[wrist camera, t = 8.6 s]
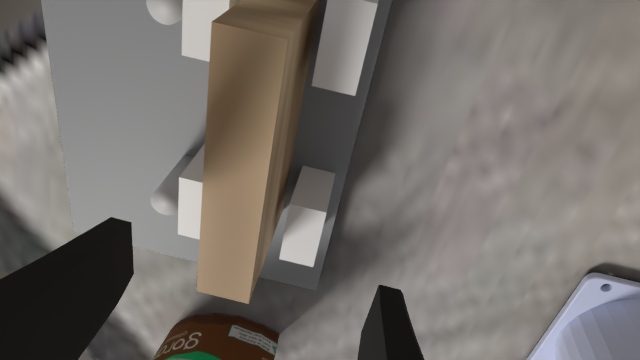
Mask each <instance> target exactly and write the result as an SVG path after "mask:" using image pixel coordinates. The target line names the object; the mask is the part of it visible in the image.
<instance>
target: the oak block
mask: <svg viewBox="0 0 640 360" xmlns="http://www.w3.org/2000/svg"><path fill="white" fill-rule="evenodd" d="M319 5H320V0H241V1H240V2H239V3H237V4H236V5H234V6H233V7H232V8H230V9H229V10H227V11H226V12H225V13H223V14H222V15H220V16H219V17H218V18H216V19H215V20H213V21H212V24H211V42H210V60H209V78H208V96H207V114H206V132H205V150H204V168H203V186H202V204H201V222H200V240H199V258H198V276H197V291H198V292H202V293H206V294H210V295H214V296H218V297H222V298H226V299H230V300H234V301H238V302H242V303H246V304H249V302H250V299H251V296H252V294H253V291H254V288H255V285H256V283H257V280H258V277H259V274H260V272H261V269H262V266H263V263H264V261H265V258H266V255H267V252H268V250H269V247H270V244H271V241H272V239H273V236H274V233H275V231H276V228H277V225H278V222H279V220H280V217H281V214H282V211H283V207H284V201H285V196H286V190H287V185H288V179H289V173H290V168H291V162H292V157H293V151H294V145H295V140H296V134H297V129H298V123H299V117H300V112H301V106H302V101H303V95H304V89H305V84H306V78H307V73H308V67H309V61H310V56H311V50H312V45H313V39H314V33H315V28H316V22H317V17H318V11H319Z"/></svg>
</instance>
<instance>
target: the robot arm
mask: <svg viewBox="0 0 640 360" xmlns="http://www.w3.org/2000/svg"><path fill="white" fill-rule="evenodd" d="M133 274H134V269H133V246H132V222H129V221H125V220H121V219H117V218H113V217H110V218H108V219H107V220H105V221H103V222H101V223H100V224H98V225H96V226H95V227H93V228H91V229H90V230H88V231H86V232H85V233H83V234H81V235H79V236H78V237H76V238H74V239H73V240H71V241H69V242H68V243H66V244H64V245H63V246H61V247H59V248H57V249H56V250H54V251H52V252H50V253H49V254H47V255H45V256H43V257H42V258H40V259H38V260H36V261H34V262H32V263H31V264H29V265H27V266H25V267H23V268H21V269H19V270H17V271H15V272H13V273H11V274H9V275H8V276H6V277H4V278H2V279H0V360H78V358H79V357H80V356H81V354H82V353H83V352H84V350H85V349H86V347H87V346H88V345H89V343H90V342H91V340H92V339H93V338H94V336H95V335H96V334H97V332H98V331H99V329H100V328H101V327H102V325H103V324H104V322H105V321H106V320H107V318H108V317H109V315H110V314H111V312H112V311H113V310H114V308H115V307H116V305H117V304H118V302H119V300H120V298H121V296H122V295H123V293H124V291H125V289H126V287H127V285H128V283H129V282H130V280H131V278H132V276H133ZM604 284H607V285H605V286H602V285H604ZM358 360H424V358H423V355H422V352H421V350H420V347H419V344H418V342H417V339H416V336H415V333H414V330H413V327H412V324H411V321H410V318H409V314H408V311H407V308H406V304H405V300H404V296H403V293H402V292H401V290H399V289H395V288H391V287H387V286H383V285H379V286H378V289H377V292H376V294H375V297H374V300H373V302H372V305H371V308H370V310H369V313H368V316H367V318H366V321H365V324H364V327H363V329H362V332H361V339H360V346H359V353H358ZM526 360H640V283H638V282H634V281H630V280H626V279H622V278H618V277H613V276H609V275H605V274H601V273H590V274H588V275H586V276H585V277H584V278H583V279H582V281H581V282H580V284H579V285H578V286H577V288H576V289H575V291H574V292H573V294H572V295H571V296H570V298H569V299H568V301H567V302H566V304H565V305H564V306H563V308H562V309H561V311H560V312H559V314H558V315H557V316H556V318H555V319H554V321H553V322H552V323H551V325H550V326H549V328H548V329H547V331H546V332H545V333H544V335H543V336H542V338H541V339H540V341H539V342H538V343H537V345H536V346H535V348H534V349H533V351H532V352H531V353H530V355H529V356H528V358H527V359H526Z"/></svg>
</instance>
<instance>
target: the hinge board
mask: <svg viewBox="0 0 640 360" xmlns="http://www.w3.org/2000/svg"><path fill="white" fill-rule="evenodd" d="M240 1H241V0H41V3H42V10H43V17H44V24H45V31H46V38H47V46H48V53H49V60H50V67H51V74H52V81H53V88H54V95H55V102H56V110H57V117H58V124H59V131H60V138H61V145H62V152H63V159H64V167H65V174H66V181H67V188H68V195H69V202H70V209H71V216H72V223H73V231H74V232H76V233H80V234H83V233H85V232H86V231H88V230H90V229H91V228H93V227H95V226H96V225H98V224H100V223H101V222H103V221H105V220H107V219H108V218H110V217H113V218H117V219H121V220H125V221H129V222H132V246H134V247H138V248H142V249H146V250H150V251H154V252H158V253H162V254H166V255H170V256H174V257H178V258H183V259H187V260H191V261H195V262H198V258H199V240H200V222H201V204H202V186H203V168H204V150H205V132H206V114H207V96H208V78H209V60H210V42H211V24H212V21H213V20H215V19H216V18H218V17H219V16H220V15H222V14H223V13H225V12H226V11H227V10H229V9H230V8H232V7H233V6H234V5H236V4H237V3H239V2H240ZM391 3H392V0H320V5H319V11H318V17H317V22H316V28H315V33H314V39H313V45H312V50H311V56H310V61H309V67H308V73H307V78H306V84H305V89H304V95H303V101H302V106H301V112H300V117H299V123H298V129H297V134H296V140H295V145H294V151H293V157H292V162H291V168H290V173H289V179H288V185H287V190H286V196H285V201H284V207H283V211H282V214H281V217H280V220H279V222H278V225H277V228H276V231H275V233H274V236H273V239H272V241H271V244H270V247H269V250H268V252H267V255H266V258H265V261H264V263H263V266H262V269H261V272H260V274H259V277H260V278H264V279H268V280H272V281H276V282H281V283H285V284H289V285H293V286H297V287H301V288H305V289H309V290H313V291H317V287H318V283H319V279H320V275H321V272H322V268H323V264H324V260H325V256H326V252H327V249H328V245H329V241H330V237H331V233H332V229H333V226H334V222H335V218H336V214H337V210H338V206H339V203H340V199H341V195H342V191H343V187H344V183H345V180H346V176H347V172H348V168H349V164H350V160H351V157H352V153H353V149H354V145H355V141H356V137H357V134H358V130H359V126H360V122H361V118H362V114H363V111H364V107H365V103H366V99H367V95H368V91H369V87H370V84H371V80H372V76H373V72H374V68H375V64H376V61H377V57H378V53H379V49H380V45H381V41H382V38H383V34H384V30H385V26H386V22H387V18H388V15H389V11H390V7H391Z"/></svg>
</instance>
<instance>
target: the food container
mask: <svg viewBox="0 0 640 360" xmlns="http://www.w3.org/2000/svg"><path fill="white" fill-rule="evenodd" d="M278 338H279V334H278V333H276V332H275V331H273V330H271V329H270V328H268V327H266V326H265V325H262V324H260V323H257V322H254V321H251V320H249V319H246V318H243V317H240V316H233V315H226V314H219V313H212V314H201V315H194V316H191V317H189V318H186V319H184V320H182V321H180V322H179V323H177V324H176V325H175V326H174V327H173V328H172V329H171V330H170V332H169V334H168V335H167V337H166V339H165V340H164V342H163V343H162V345H161V347H160V348H159V350H158V351H157V353H156V355H155V356H154V358H153V359H152V360H274V358H275V353H276V348H277V343H278Z"/></svg>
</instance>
